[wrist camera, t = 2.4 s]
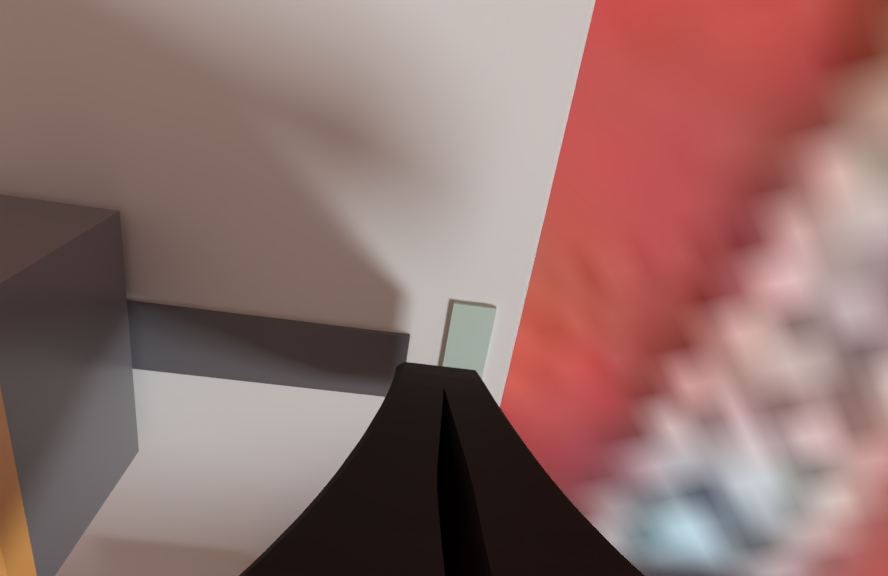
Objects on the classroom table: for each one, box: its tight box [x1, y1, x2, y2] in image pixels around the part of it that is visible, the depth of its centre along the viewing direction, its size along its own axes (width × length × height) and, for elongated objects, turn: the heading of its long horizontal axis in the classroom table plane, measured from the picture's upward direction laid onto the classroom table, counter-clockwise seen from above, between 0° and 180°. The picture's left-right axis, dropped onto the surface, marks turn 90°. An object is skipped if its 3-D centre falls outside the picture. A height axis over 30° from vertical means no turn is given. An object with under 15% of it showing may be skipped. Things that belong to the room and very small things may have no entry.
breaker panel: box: [0, 0, 595, 576], centre depth 11 cm, size 17×22×6 cm
